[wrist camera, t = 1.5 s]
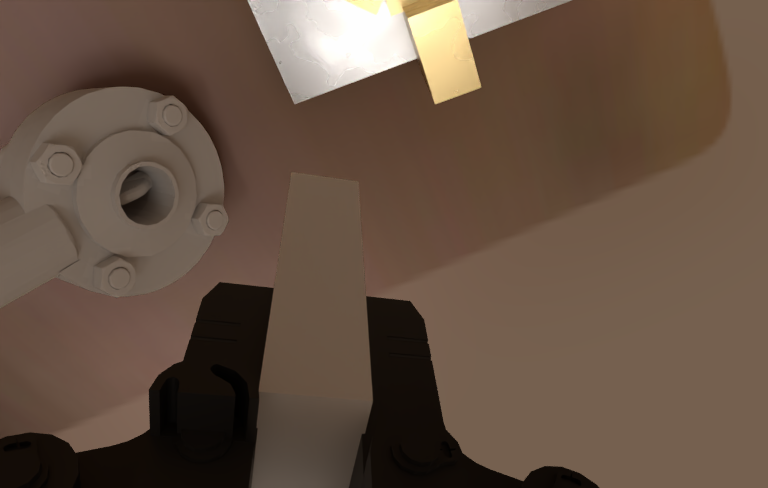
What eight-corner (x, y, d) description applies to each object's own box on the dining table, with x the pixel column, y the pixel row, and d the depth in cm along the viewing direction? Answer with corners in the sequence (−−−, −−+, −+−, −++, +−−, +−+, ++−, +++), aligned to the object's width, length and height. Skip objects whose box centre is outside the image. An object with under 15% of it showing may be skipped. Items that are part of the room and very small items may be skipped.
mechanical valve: (259, 235, 35) (0, 410, 25) (108, 207, 46) (-112, 320, 36) (193, 57, 30) (-156, 189, 21) (42, 73, 41) (-230, 163, 32)
